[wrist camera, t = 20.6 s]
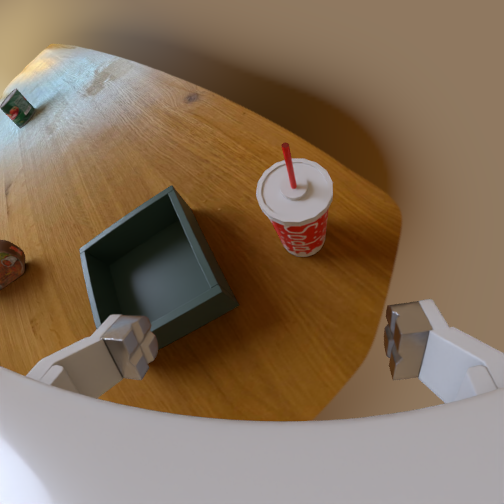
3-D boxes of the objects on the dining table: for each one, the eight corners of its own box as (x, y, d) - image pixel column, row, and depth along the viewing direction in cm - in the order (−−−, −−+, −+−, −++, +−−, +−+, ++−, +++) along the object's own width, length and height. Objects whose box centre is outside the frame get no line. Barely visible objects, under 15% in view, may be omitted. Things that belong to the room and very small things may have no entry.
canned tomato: (16, 131, 67) (-4, 112, 57) (21, 118, 70) (3, 99, 60) (32, 117, 66) (12, 96, 56) (37, 105, 70) (19, 84, 60)
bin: (239, 305, 30) (222, 291, 25) (134, 362, 30) (104, 357, 25) (190, 208, 36) (171, 184, 31) (105, 264, 36) (79, 249, 31)
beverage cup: (267, 256, 31) (225, 176, 19) (283, 206, 33) (255, 111, 21) (325, 270, 29) (321, 190, 17) (338, 217, 31) (338, 119, 19)
